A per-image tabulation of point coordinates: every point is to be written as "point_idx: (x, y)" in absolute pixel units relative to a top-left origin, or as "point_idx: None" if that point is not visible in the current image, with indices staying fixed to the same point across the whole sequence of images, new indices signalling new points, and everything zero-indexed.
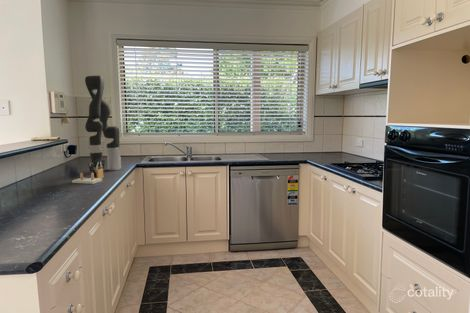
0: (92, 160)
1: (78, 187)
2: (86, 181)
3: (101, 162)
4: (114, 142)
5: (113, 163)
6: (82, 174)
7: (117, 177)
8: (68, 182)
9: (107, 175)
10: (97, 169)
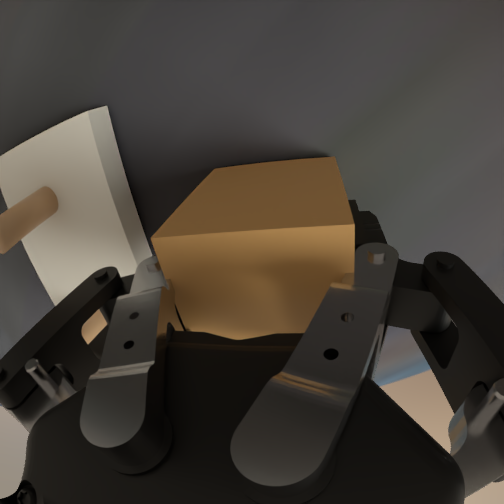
0: (37, 485)
1: (17, 300)
2: (54, 299)
3: (456, 435)
4: None
5: None
6: (14, 243)
7: (382, 365)
8: (8, 89)
9: (494, 200)
10: (241, 328)
